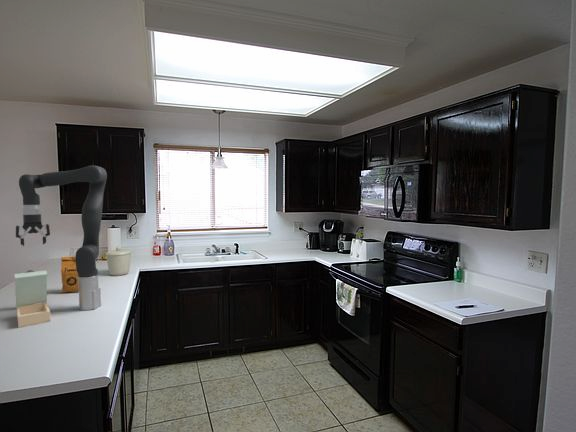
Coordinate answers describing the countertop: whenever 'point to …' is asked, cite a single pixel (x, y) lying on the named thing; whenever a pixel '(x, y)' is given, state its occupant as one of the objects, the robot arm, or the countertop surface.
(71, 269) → the coffee package
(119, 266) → the canister
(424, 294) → the countertop surface
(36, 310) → the beige wooden open box
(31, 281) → the lid
